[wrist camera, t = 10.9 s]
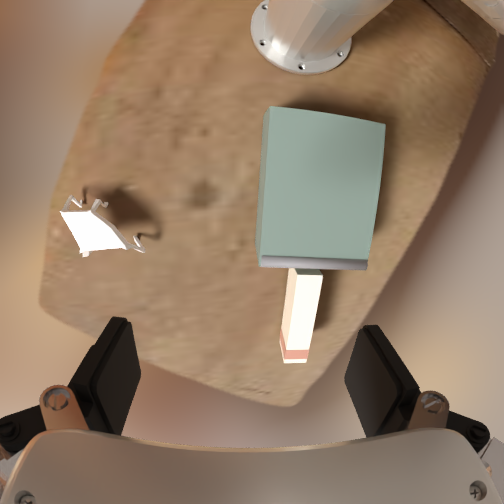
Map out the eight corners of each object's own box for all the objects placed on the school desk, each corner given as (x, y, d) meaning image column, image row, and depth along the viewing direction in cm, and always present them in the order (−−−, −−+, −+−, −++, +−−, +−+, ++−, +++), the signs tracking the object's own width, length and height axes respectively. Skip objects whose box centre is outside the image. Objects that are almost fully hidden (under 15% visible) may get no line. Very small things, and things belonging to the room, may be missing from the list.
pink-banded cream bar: (289, 258, 37) (297, 274, 32) (313, 259, 37) (323, 275, 33) (279, 340, 42) (283, 363, 37) (299, 340, 42) (306, 362, 37)
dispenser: (263, 114, 32) (270, 105, 24) (358, 127, 33) (388, 124, 25) (255, 243, 37) (259, 268, 30) (344, 247, 38) (367, 272, 30)
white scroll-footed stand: (73, 246, 36) (56, 258, 32) (76, 189, 34) (57, 195, 29) (148, 264, 38) (137, 279, 33) (156, 203, 35) (144, 212, 30)
